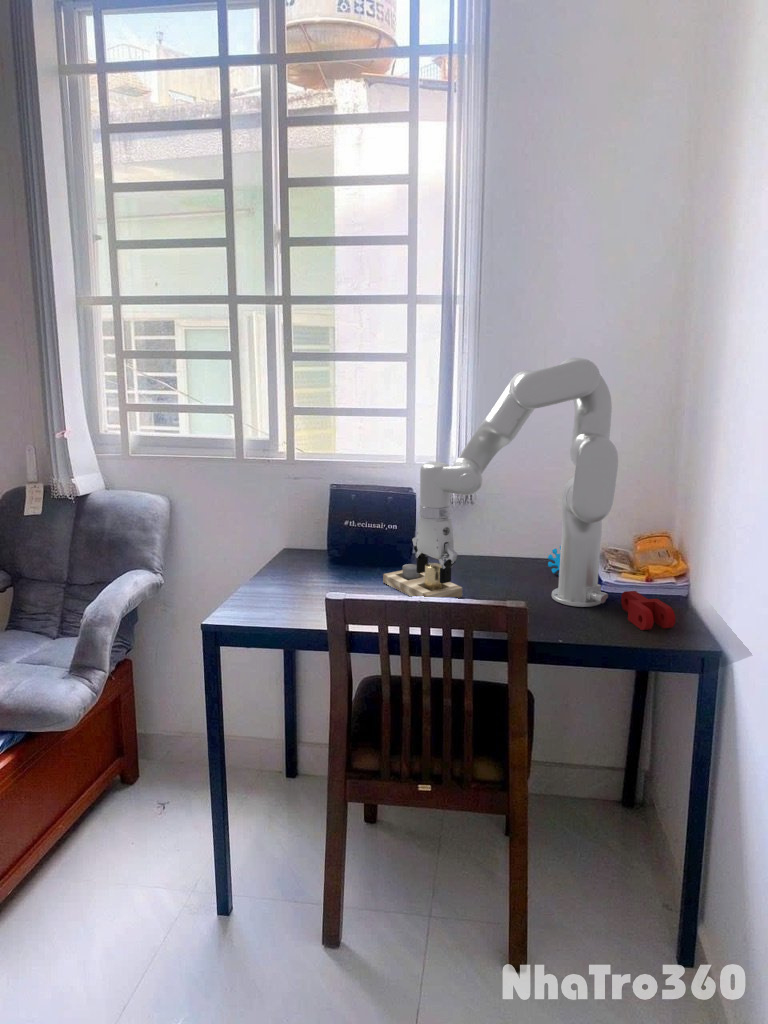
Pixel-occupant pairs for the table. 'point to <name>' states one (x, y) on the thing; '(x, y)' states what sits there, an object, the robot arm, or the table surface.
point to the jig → (418, 583)
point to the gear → (556, 560)
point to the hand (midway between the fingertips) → (433, 577)
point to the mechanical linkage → (647, 611)
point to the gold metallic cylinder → (432, 576)
